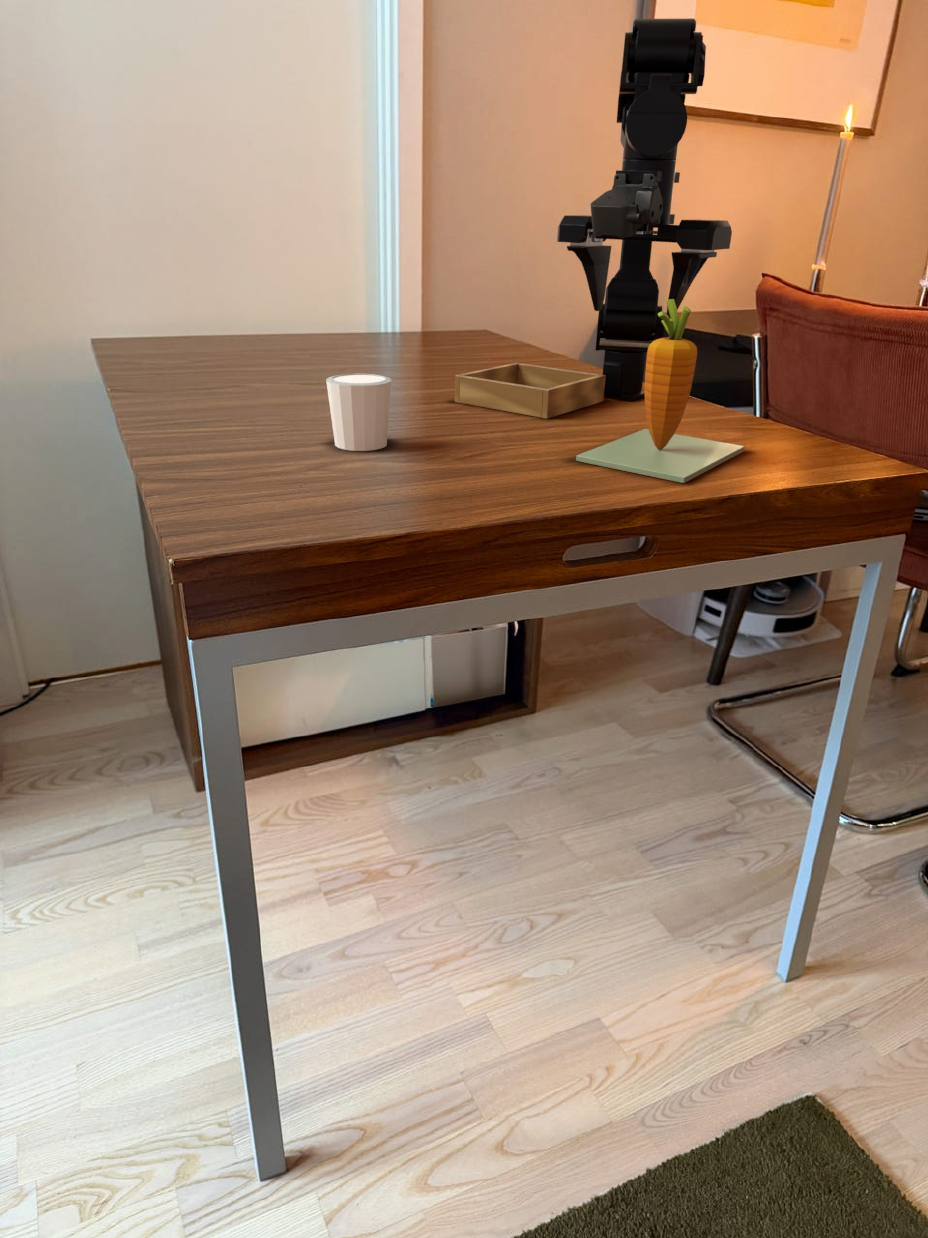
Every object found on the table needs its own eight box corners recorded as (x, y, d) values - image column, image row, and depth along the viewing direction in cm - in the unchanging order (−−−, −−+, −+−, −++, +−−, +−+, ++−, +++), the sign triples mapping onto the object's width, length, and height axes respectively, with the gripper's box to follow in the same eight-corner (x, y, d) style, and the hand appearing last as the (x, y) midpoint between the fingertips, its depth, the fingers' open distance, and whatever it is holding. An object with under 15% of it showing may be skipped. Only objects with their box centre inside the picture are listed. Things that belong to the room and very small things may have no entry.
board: (644, 433, 98) (645, 428, 98) (743, 451, 92) (744, 446, 91) (575, 460, 87) (576, 455, 86) (683, 483, 80) (684, 477, 80)
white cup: (354, 433, 95) (352, 370, 92) (405, 442, 92) (404, 377, 89) (315, 446, 89) (312, 379, 86) (367, 455, 86) (366, 386, 83)
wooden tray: (515, 387, 122) (516, 362, 121) (603, 401, 115) (606, 375, 113) (454, 401, 112) (454, 375, 110) (546, 418, 104) (548, 390, 102)
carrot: (684, 457, 86) (706, 303, 80) (635, 453, 87) (653, 301, 81) (682, 445, 91) (703, 299, 84) (636, 442, 92) (653, 296, 85)
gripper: (535, 157, 89) (527, 312, 96) (702, 156, 79) (679, 329, 86) (587, 162, 97) (576, 305, 104) (744, 161, 87) (720, 319, 94)
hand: (632, 314), depth 97 cm, fingers open, 9 cm apart
